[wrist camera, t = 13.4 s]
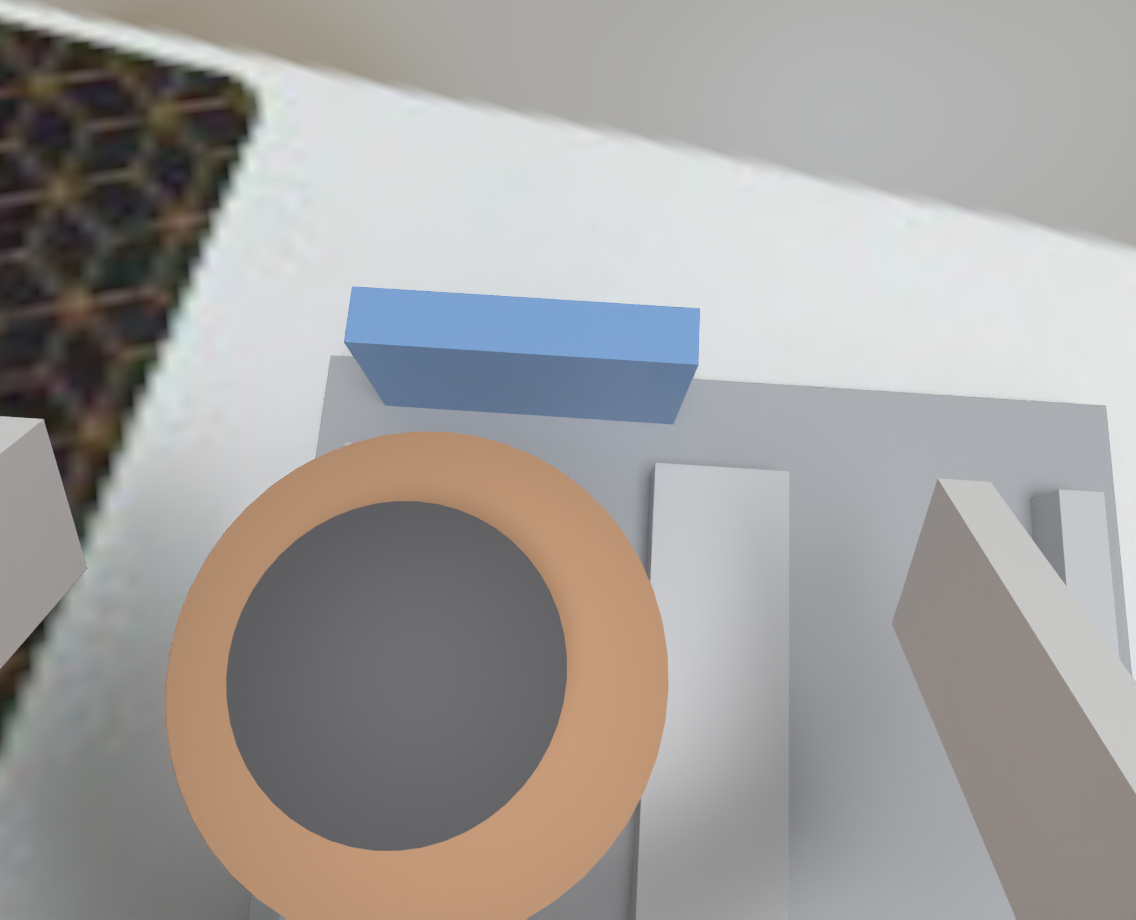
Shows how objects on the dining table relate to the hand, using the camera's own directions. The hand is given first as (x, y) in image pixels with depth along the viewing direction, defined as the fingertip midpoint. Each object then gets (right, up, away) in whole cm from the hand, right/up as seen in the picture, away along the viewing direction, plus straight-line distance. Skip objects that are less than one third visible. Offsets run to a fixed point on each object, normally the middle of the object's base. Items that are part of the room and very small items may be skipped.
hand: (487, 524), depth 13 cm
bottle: (0, -4, +6) cm, 7 cm away
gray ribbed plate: (+4, -5, +7) cm, 10 cm away
